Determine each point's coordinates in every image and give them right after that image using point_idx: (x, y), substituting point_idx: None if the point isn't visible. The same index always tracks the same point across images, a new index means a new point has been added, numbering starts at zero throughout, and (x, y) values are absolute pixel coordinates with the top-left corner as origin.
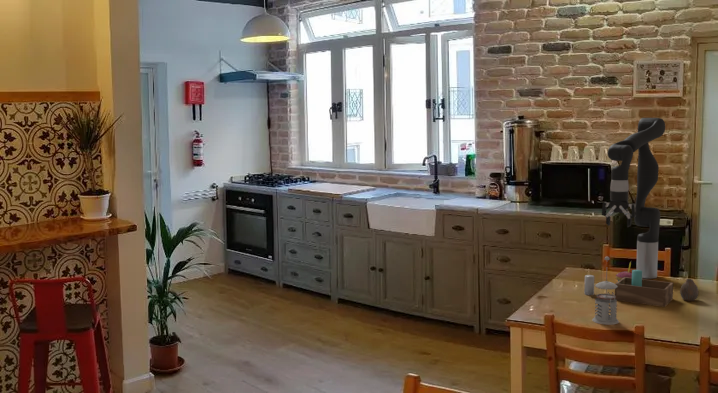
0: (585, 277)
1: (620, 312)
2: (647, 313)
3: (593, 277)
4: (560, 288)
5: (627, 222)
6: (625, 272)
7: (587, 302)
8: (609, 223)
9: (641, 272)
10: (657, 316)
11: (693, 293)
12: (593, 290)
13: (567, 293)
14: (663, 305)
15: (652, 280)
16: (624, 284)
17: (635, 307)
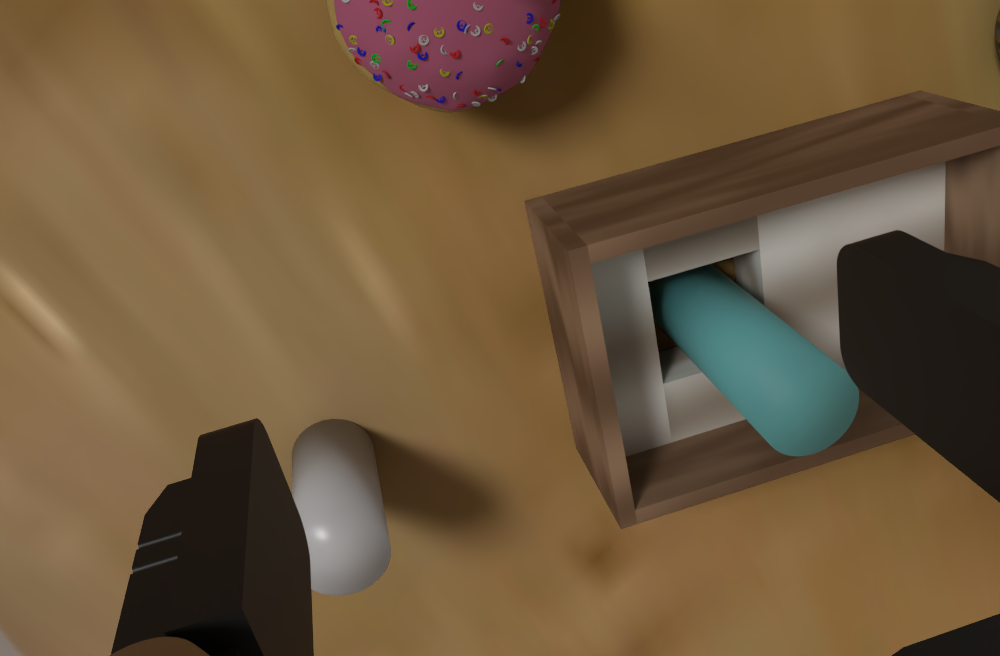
0: (323, 586)
1: (731, 637)
2: (865, 542)
3: (389, 550)
4: (25, 492)
5: (949, 448)
6: (465, 20)
7: (465, 629)
8: (289, 530)
9: (852, 404)
10: (927, 547)
11: None
12: (377, 470)
13: None
14: None
15: (845, 178)
16: (693, 492)
17: (765, 493)
